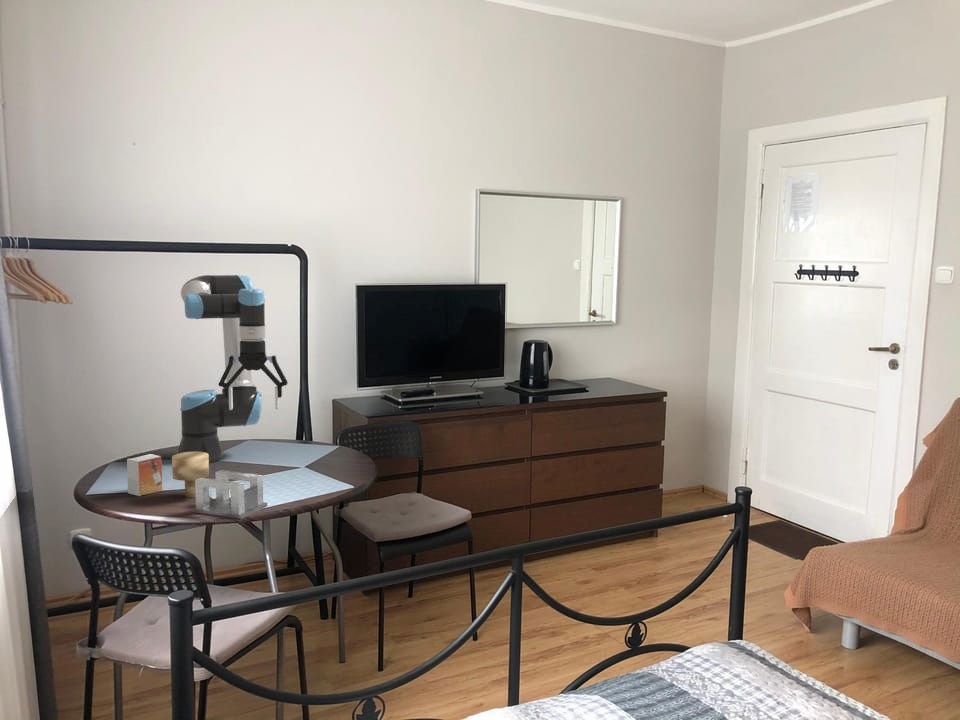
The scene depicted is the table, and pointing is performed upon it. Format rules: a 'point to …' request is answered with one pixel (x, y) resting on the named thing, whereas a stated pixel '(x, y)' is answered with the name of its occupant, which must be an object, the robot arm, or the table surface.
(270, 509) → the table surface
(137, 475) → the small box
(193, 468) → the mushroom peg
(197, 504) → the fork bracket
